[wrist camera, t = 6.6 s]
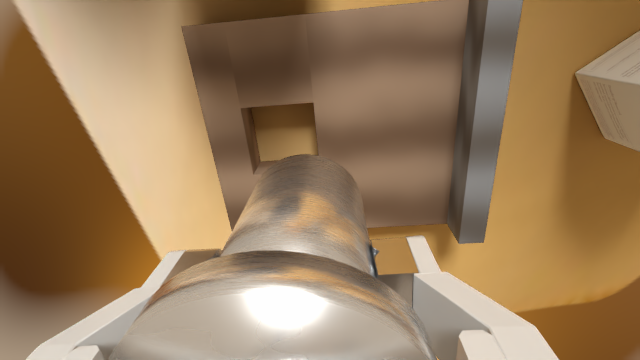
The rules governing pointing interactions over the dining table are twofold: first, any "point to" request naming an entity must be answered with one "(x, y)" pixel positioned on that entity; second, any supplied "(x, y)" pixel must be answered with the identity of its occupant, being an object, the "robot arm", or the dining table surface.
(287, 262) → the frosted bulb shape
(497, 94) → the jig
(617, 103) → the supplement box
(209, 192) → the dining table surface
